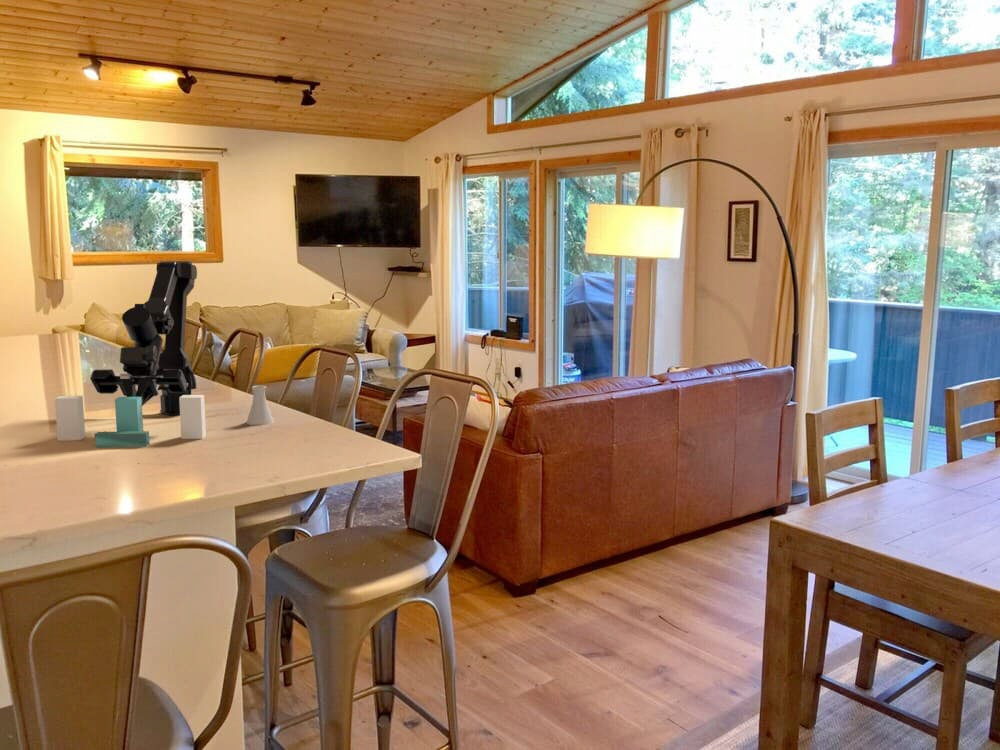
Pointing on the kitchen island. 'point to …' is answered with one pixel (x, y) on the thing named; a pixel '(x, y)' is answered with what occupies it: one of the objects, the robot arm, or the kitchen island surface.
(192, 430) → the grey key
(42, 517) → the kitchen island surface
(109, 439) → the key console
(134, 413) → the teal key
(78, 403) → the grey key
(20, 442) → the kitchen island surface
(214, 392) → the kitchen island surface
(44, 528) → the kitchen island surface
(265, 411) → the flask
